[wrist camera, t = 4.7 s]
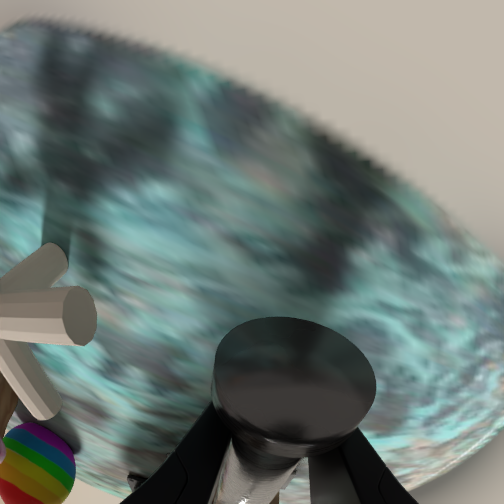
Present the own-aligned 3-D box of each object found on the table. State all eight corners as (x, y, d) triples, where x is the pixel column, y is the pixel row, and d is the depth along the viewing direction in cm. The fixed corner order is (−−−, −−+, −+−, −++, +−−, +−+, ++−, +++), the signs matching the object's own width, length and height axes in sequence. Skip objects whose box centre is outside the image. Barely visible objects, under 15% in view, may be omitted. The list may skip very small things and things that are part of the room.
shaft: (257, 509, 16) (253, 557, 12) (198, 501, 16) (190, 549, 12) (358, 326, 9) (392, 436, 5) (226, 306, 9) (201, 421, 5)
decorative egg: (58, 459, 25) (30, 523, 16) (6, 413, 22) (-32, 479, 13) (99, 462, 23) (70, 542, 14) (38, 410, 20) (-7, 495, 11)
